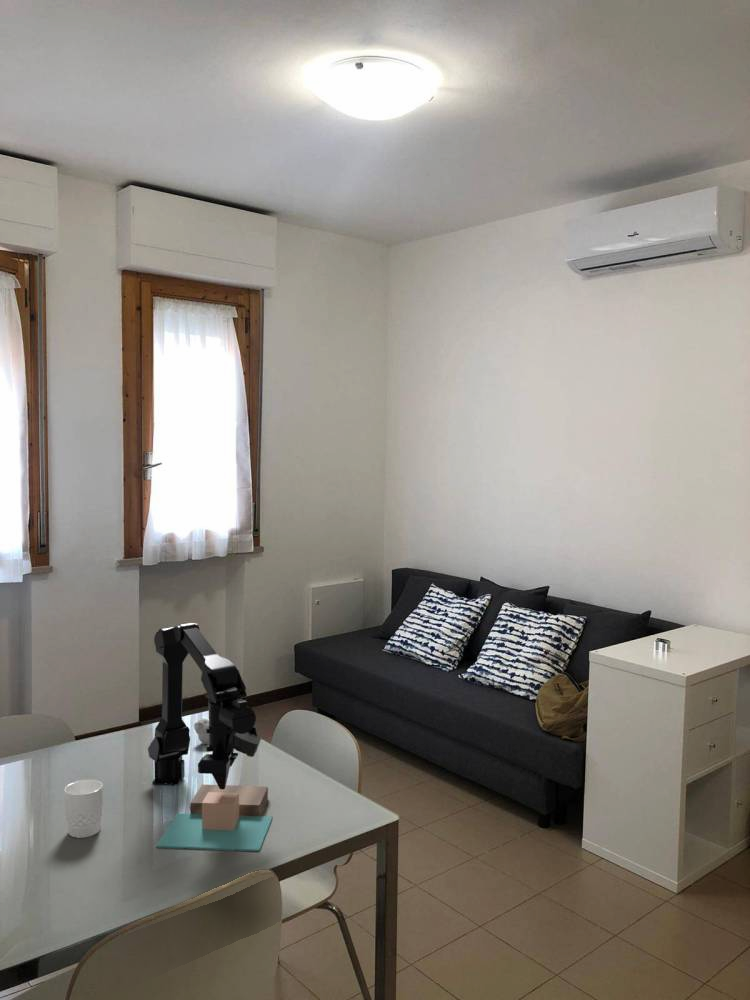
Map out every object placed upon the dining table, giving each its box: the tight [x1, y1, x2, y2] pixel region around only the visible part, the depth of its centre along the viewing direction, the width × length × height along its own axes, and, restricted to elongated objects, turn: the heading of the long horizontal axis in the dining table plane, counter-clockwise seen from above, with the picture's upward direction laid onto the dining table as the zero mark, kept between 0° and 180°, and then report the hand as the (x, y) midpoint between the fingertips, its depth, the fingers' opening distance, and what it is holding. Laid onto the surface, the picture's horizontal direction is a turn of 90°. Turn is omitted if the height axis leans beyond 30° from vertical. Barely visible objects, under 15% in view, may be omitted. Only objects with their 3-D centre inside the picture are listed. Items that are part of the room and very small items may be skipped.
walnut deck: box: [189, 784, 269, 816], centre depth 195 cm, size 16×10×3 cm, turn 86°
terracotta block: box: [202, 792, 239, 830], centre depth 185 cm, size 7×6×6 cm
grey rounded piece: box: [193, 718, 209, 745], centre depth 234 cm, size 6×7×7 cm
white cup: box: [64, 779, 104, 839], centre depth 182 cm, size 8×8×10 cm
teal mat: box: [155, 812, 273, 852], centre depth 182 cm, size 22×15×1 cm
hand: (222, 788), depth 187 cm, fingers closed
